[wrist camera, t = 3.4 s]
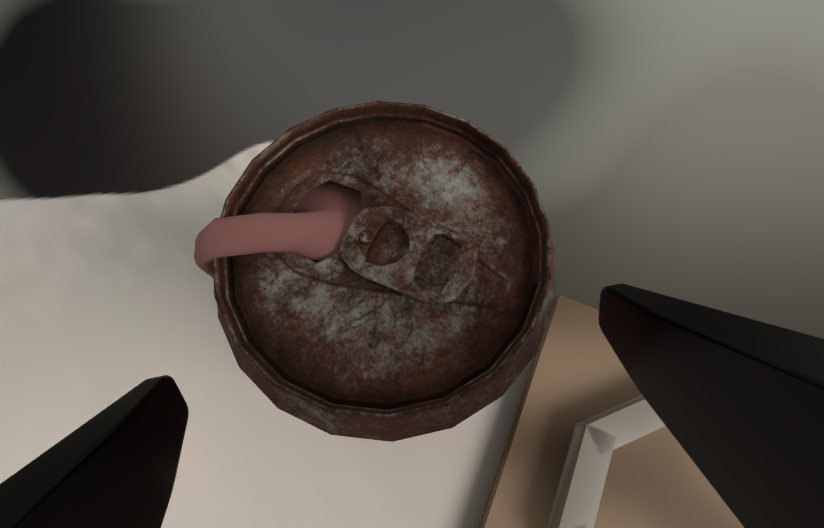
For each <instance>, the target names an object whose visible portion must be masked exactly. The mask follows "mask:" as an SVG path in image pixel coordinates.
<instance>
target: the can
mask: <svg viewBox="0 0 824 528" xmlns="http://www.w3.org/2000/svg"><path fill="white" fill-rule="evenodd" d="M554 249H555V248H554V246H553V243H552V240H551V229H550V226H549V223H548V221H547V218H546V215H545V212H544V209H543V207H542V204H541V201H540V198H539V195H538V192H537V190H536V187H535V184H534V183H533V182H532V181H531V179H530V178H529V176H528V175H527V174H526V173H525V171H524V170H523V169H522V167H521V166H520V165H519V164H518V162H517V161H516V160H515V159H514V157H513V156H512V155H511V153H510V152H509V151H508V149H507V148H506V147H504V146H503V145H502V144H500V143H499V142H498V141H496V140H495V139H494V138H492V137H491V136H489V135H488V134H486V133H485V132H484V131H482V130H481V129H479V128H478V127H477V126H475V125H474V124H472V123H471V122H469V121H468V120H465V119H463V118H460V117H457V116H454V115H451V114H448V113H446V112H443V111H440V110H437V109H434V108H432V107H429V106H426V105H419V104H407V103H393V102H381V101H376V102H370V103H365V104H359V105H354V106H348V107H343V108H337V109H332V110H329V111H327V112H325V113H323V114H321V115H318V116H316V117H314V118H312V119H310V120H308V121H305V122H303V123H301V124H299V125H296V126H294V127H292V128H290V129H288V130H287V131H286V132H285V133H284V134H282V135H281V136H280V137H279V138H278V139H276V140H275V141H274V142H273V143H272V144H270V145H269V146H268V147H267V148H266V149H264V150H263V151H262V152H261V153H260V154H258V155H257V156H256V157H255V158H254V159H252V161H251V162H250V164H249V165H248V167H247V168H246V170H245V171H244V173H243V174H242V176H241V177H240V179H239V180H238V182H237V183H236V185H235V186H234V188H233V189H232V191H231V192H230V194H229V195H228V197H227V198H226V200H225V203H224V207H223V210H222V214H221V217H220V218H215V219H214V220H213V221H212V222H211V223H210V224H209V225H208V226H207V227H205V228H204V229H203V230H202V231H201V232H200V233H199V234H198V236H197V238H196V242H195V255H194V258H195V262H196V264H197V266H198V267H199V268H200V269H202V270H203V271H204V272H206V273H207V274H209V275H210V276H211V277H213V278H214V294H215V299H216V301H217V304H218V318H219V320H220V323H221V325H222V328H223V330H224V332H225V335H226V337H227V339H228V342H229V344H230V346H231V349H232V351H233V354H234V356H235V358H236V361H237V363H238V365H239V367H240V368H241V369H242V371H243V372H244V373H245V374H246V375H247V376H248V377H249V378H250V379H251V380H252V381H253V382H254V383H255V384H256V385H257V386H258V387H259V389H260V390H261V391H262V392H263V393H264V394H265V395H266V396H267V397H268V398H269V399H270V400H271V401H272V402H273V403H274V404H275V406H276V407H277V408H279V409H281V410H283V411H285V412H287V413H289V414H291V415H293V416H295V417H297V418H299V419H301V420H303V421H305V422H307V423H309V424H311V425H313V426H315V427H317V428H319V429H321V430H323V431H325V432H327V433H329V434H331V435H339V436H347V437H356V438H365V439H374V440H383V441H391V442H393V441H397V440H401V439H406V438H410V437H414V436H419V435H423V434H427V433H432V432H436V431H440V430H444V429H449V428H452V427H454V426H456V425H457V424H459V423H460V422H462V421H463V420H465V419H467V418H468V417H470V416H471V415H473V414H475V413H476V412H478V411H479V410H481V409H482V408H484V407H486V406H487V405H489V404H490V403H492V402H493V401H495V400H497V399H498V398H500V397H501V396H503V395H504V393H505V392H506V391H507V390H508V388H509V387H510V386H511V384H512V383H513V382H514V381H515V379H516V378H517V377H518V376H519V374H520V373H521V372H522V370H523V369H524V368H525V367H526V365H527V364H528V363H529V362H530V360H531V359H532V358H533V356H534V355H535V354H536V353H537V351H538V349H539V346H540V343H541V340H542V337H543V334H544V331H545V328H546V325H547V323H548V320H549V317H550V314H551V311H552V308H553V305H554V302H555V250H554Z"/></svg>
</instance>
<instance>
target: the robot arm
mask: <svg viewBox="0 0 824 528" xmlns="http://www.w3.org/2000/svg"><path fill="white" fill-rule="evenodd" d="M598 321H599V326H600V329H601V331H602V333H603V334H604V336H605V337H606V339H607V341H608V342H609V344H610V346H611V347H612V349H613V350H614V352H615V354H616V355H617V357H618V359H619V360H620V362H621V363H622V365H623V367H624V368H625V370H626V372H627V373H628V375H629V376H630V378H631V380H632V381H633V383H634V384H635V386H636V387H637V389H638V390H639V392H640V393H641V394H642V396H643V397H644V398H645V400H646V401H647V402H648V404H649V405H650V406H651V407H652V409H653V410H654V411H655V413H656V414H657V415H658V417H659V418H660V419H661V420H662V422H663V423H664V424H665V426H666V427H667V428H668V429H669V431H670V432H671V433H672V435H673V436H674V437H675V439H676V440H677V441H678V442H679V444H680V445H681V446H682V448H683V449H684V450H685V452H686V453H687V454H688V455H689V457H690V458H691V459H692V461H693V462H694V463H695V464H696V466H697V467H698V468H699V470H700V471H701V472H702V474H703V475H704V476H705V477H706V479H707V480H708V481H709V483H710V484H711V485H712V487H713V488H714V489H715V490H716V492H717V493H718V494H719V496H720V497H721V498H722V499H723V501H724V502H725V503H726V505H727V506H728V507H729V509H730V510H731V511H732V512H733V514H734V515H735V516H736V518H737V519H738V520H739V522H740V523H741V524H742V525H743V527H744V528H824V339H822V338H818V337H814V336H811V335H807V334H804V333H800V332H796V331H793V330H789V329H786V328H782V327H778V326H775V325H771V324H767V323H764V322H760V321H756V320H753V319H749V318H746V317H742V316H738V315H735V314H731V313H728V312H724V311H720V310H716V309H713V308H709V307H706V306H702V305H698V304H695V303H691V302H688V301H684V300H680V299H677V298H673V297H669V296H666V295H662V294H659V293H655V292H651V291H648V290H644V289H640V288H637V287H633V286H630V285H625V284H616V285H611V286H606V287H604V288H603V289H602V290H601V293H600V304H599V317H598ZM187 421H188V407H187V404H186V402H185V400H184V398H183V396H182V394H181V392H180V390H179V388H178V386H177V385H176V383H175V381H174V379H173V378H172V377H170V376H167V375H165V376H160V377H155V378H150V379H147V380H145V381H143V382H142V383H140V384H139V385H138V386H136V387H135V388H133V389H132V390H131V391H129V392H128V393H127V394H125V395H124V396H122V397H121V398H120V399H118V400H117V401H115V402H114V403H113V404H111V405H110V406H108V407H107V408H106V409H104V410H103V411H101V412H100V413H99V414H97V415H96V416H94V417H93V418H92V419H90V420H89V421H87V422H86V423H85V424H83V425H82V426H81V427H79V428H78V429H76V430H75V431H74V432H72V433H71V434H69V435H68V436H67V437H65V438H64V439H62V440H61V441H60V442H58V443H57V444H55V445H54V446H53V447H51V448H50V449H48V450H47V451H46V452H44V453H43V454H41V455H40V456H39V457H37V458H36V459H35V460H33V461H32V462H30V463H29V464H28V465H26V466H25V467H23V468H22V469H21V470H19V471H18V472H16V473H15V474H14V475H12V476H11V477H9V478H8V479H7V480H5V481H4V482H2V483H1V484H0V528H161V525H162V522H163V519H164V516H165V513H166V510H167V507H168V503H169V500H170V497H171V493H172V490H173V486H174V482H175V477H176V473H177V468H178V463H179V458H180V454H181V449H182V444H183V439H184V435H185V430H186V425H187Z"/></svg>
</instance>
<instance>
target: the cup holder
mask: <svg viewBox="0 0 824 528" xmlns="http://www.w3.org/2000/svg"><path fill="white" fill-rule="evenodd" d="M598 317H599V310H597V309H595V308H593V307H590V306H587V305H585V304H582V303H579V302H577V301H575V300H572V299H570V298H567V297H565V296H562V295H559V296H558V297H556V298H555V302H554V305H553V308H552V311H551V314H550V317H549V320H548V323H547V325H546V328H545V331H544V334H543V337H542V340H541V343H540V346H539V349H538V351H537V354H536V357H535V360H534V363H533V367H532V370H531V373H530V376H529V379H528V382H527V385H526V388H525V391H524V394H523V397H522V400H521V403H520V406H519V409H518V412H517V415H516V418H515V421H514V425H513V428H512V431H511V434H510V437H509V440H508V443H507V446H506V449H505V452H504V455H503V458H502V461H501V464H500V467H499V470H498V473H497V476H496V479H495V482H494V486H493V489H492V492H491V495H490V498H489V501H488V504H487V507H486V510H485V513H484V516H483V519H482V522H481V525H480V528H744V527H743V525H742V524H741V523H740V522H739V520H738V519H737V518H736V516H735V515H734V514H733V512H732V511H731V510H730V509H729V507H728V506H727V505H726V503H725V502H724V501H723V499H722V498H721V497H720V496H719V494H718V493H717V492H716V490H715V489H714V488H713V487H712V485H711V484H710V483H709V481H708V480H707V479H706V477H705V476H704V475H703V474H702V472H701V471H700V470H699V468H698V467H697V466H696V464H695V463H694V462H693V461H692V459H691V458H690V457H689V455H688V454H687V453H686V452H685V450H684V449H683V448H682V446H681V445H680V444H679V442H678V441H677V440H676V439H675V437H674V436H673V435H672V433H671V432H670V431H669V429H668V428H667V427H666V426H665V424H664V423H663V422H662V420H661V419H660V418H659V417H658V415H657V414H656V413H655V411H654V410H653V409H652V407H651V406H650V405H649V404H648V402H647V401H646V400H645V398H644V397H643V396H642V394H641V393H640V392H639V390H638V389H637V387H636V386H635V384H634V383H633V381H632V380H631V378H630V376H629V375H628V373H627V372H626V370H625V368H624V367H623V365H622V363H621V362H620V360H619V359H618V357H617V355H616V354H615V352H614V350H613V349H612V347H611V346H610V344H609V342H608V341H607V339H606V337H605V336H604V334H603V333H602V331H601V329H600V326H599V321H598Z"/></svg>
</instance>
